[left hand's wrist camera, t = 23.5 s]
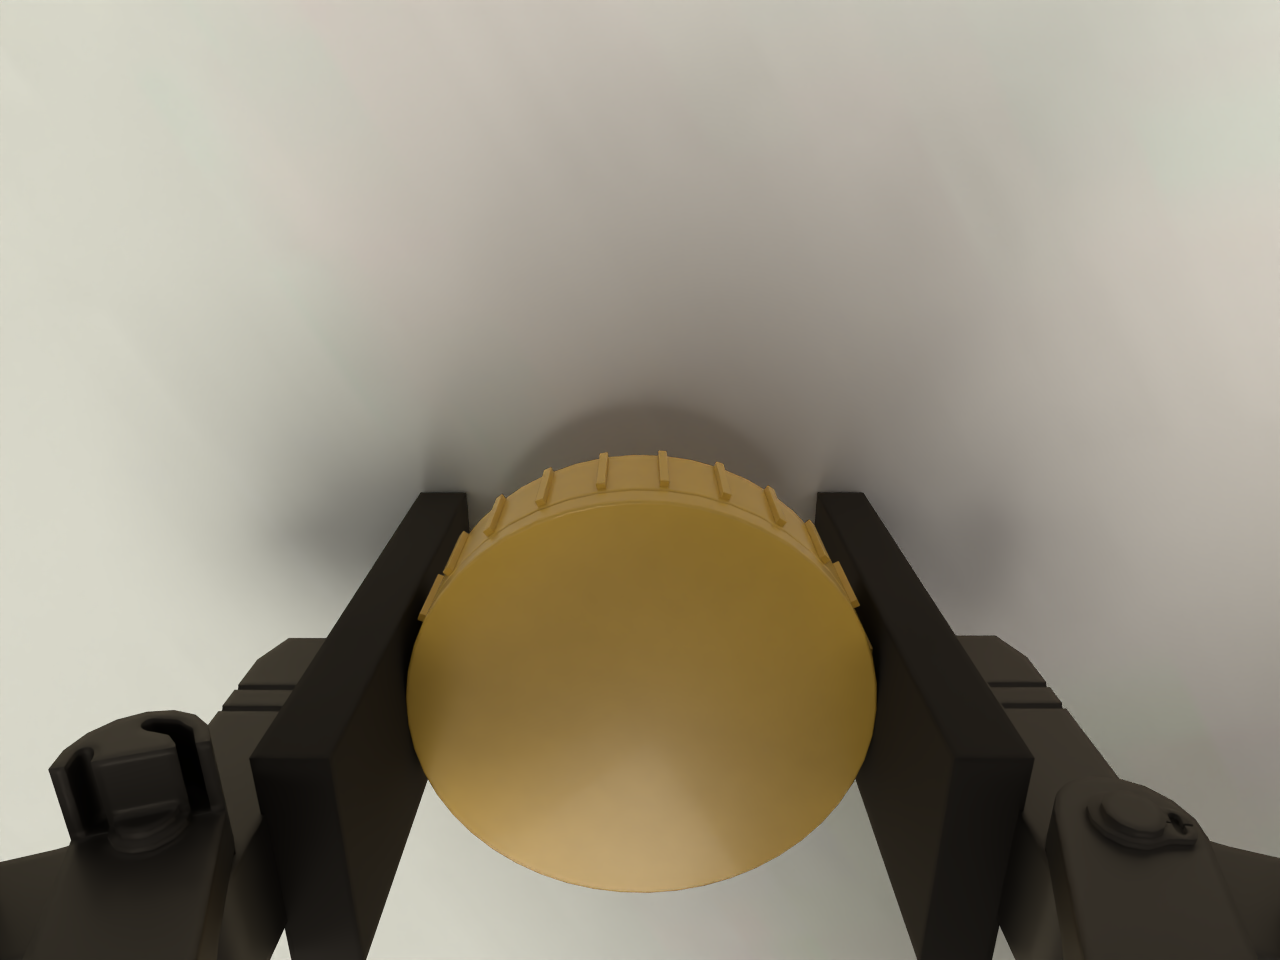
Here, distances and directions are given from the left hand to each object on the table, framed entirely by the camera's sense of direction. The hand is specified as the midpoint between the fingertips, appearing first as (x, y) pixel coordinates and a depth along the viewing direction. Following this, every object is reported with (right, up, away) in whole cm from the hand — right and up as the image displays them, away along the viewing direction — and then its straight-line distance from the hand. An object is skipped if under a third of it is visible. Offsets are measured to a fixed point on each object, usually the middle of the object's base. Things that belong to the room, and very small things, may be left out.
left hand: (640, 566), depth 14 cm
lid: (0, -1, -4) cm, 4 cm away
